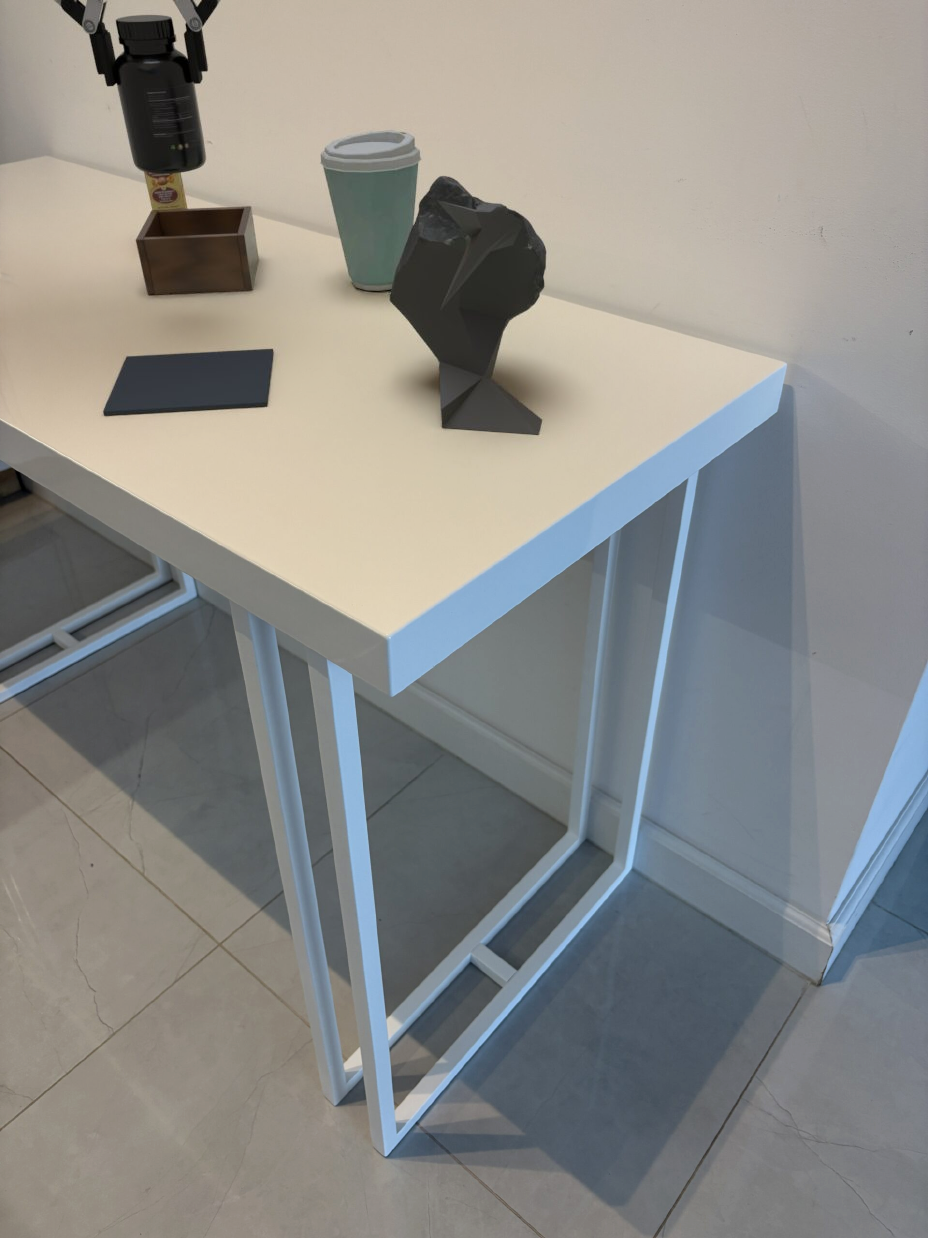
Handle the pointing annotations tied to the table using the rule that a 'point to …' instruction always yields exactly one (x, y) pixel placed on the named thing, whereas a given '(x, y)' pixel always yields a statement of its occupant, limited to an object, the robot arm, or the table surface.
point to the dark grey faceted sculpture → (469, 299)
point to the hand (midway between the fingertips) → (155, 80)
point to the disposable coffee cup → (373, 201)
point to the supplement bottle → (157, 97)
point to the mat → (191, 382)
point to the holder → (198, 250)
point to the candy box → (166, 191)
